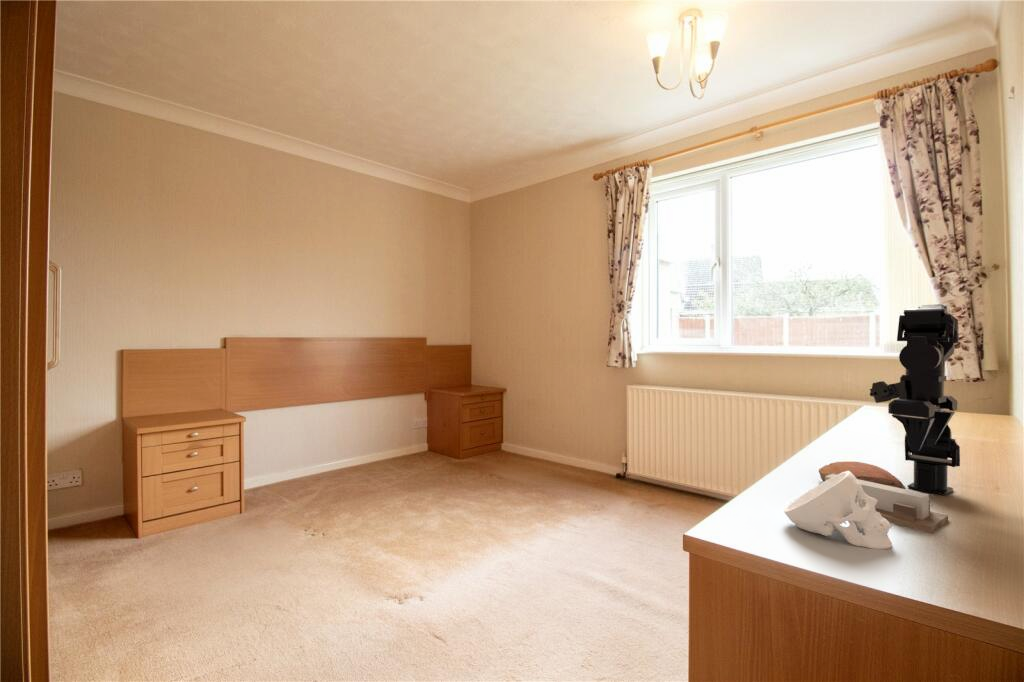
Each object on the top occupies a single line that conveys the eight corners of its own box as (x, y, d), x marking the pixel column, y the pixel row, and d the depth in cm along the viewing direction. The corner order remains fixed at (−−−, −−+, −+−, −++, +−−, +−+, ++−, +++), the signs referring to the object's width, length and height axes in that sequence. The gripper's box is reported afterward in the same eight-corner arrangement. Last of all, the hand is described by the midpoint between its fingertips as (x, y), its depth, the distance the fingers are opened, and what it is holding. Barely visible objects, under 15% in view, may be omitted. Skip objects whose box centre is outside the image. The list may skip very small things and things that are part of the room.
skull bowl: (906, 552, 72) (853, 476, 76) (814, 576, 80) (771, 506, 84) (907, 530, 80) (859, 463, 84) (823, 554, 88) (783, 491, 92)
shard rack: (828, 491, 105) (828, 476, 105) (948, 520, 88) (948, 502, 88) (807, 500, 99) (807, 483, 99) (930, 533, 83) (930, 513, 83)
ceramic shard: (807, 452, 121) (874, 464, 118) (804, 477, 120) (871, 490, 117) (833, 458, 107) (910, 472, 103) (830, 487, 106) (907, 502, 103)
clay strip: (832, 492, 101) (832, 473, 101) (928, 515, 88) (928, 494, 88) (824, 495, 99) (825, 476, 99) (922, 519, 86) (922, 497, 86)
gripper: (892, 366, 107) (891, 435, 107) (857, 369, 96) (857, 446, 97) (958, 369, 98) (957, 445, 98) (928, 373, 87) (927, 457, 87)
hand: (923, 448), depth 95 cm, fingers open, 9 cm apart
